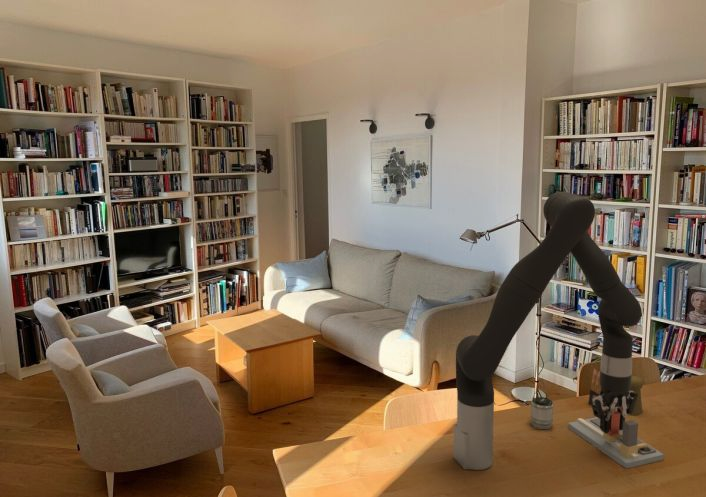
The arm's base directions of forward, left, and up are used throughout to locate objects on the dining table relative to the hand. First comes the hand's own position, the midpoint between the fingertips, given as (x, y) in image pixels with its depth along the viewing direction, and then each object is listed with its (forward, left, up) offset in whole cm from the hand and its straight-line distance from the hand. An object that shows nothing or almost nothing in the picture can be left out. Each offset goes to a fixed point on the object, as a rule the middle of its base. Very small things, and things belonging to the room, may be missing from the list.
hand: (612, 430), depth 145 cm
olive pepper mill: (+21, +15, -5) cm, 27 cm away
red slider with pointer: (+2, 0, -3) cm, 4 cm away
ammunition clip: (+13, +18, -6) cm, 23 cm away
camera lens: (-10, +17, -6) cm, 20 cm away
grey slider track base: (+2, +2, -5) cm, 6 cm away
